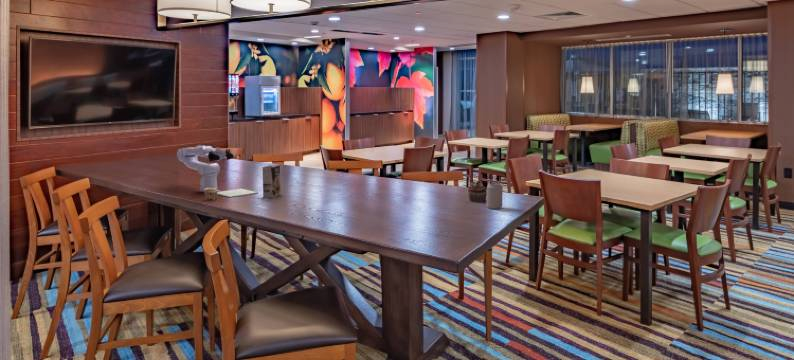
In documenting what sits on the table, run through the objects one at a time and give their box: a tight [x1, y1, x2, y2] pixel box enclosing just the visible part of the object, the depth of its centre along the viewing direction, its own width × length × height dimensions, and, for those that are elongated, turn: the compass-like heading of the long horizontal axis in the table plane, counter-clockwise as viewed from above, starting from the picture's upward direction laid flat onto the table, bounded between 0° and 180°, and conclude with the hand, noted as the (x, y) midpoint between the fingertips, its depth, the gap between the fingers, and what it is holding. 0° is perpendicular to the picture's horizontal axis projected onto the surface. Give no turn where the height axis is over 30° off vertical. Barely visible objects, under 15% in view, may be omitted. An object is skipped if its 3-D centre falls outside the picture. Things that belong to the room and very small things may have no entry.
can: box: [485, 182, 504, 210], centre depth 268 cm, size 8×8×12 cm
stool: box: [203, 187, 219, 201], centre depth 289 cm, size 5×5×6 cm
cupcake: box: [467, 180, 487, 203], centre depth 286 cm, size 10×10×10 cm
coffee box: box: [262, 164, 281, 198], centre depth 297 cm, size 9×6×16 cm
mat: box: [217, 188, 259, 199], centre depth 306 cm, size 17×17×1 cm
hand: (226, 157), depth 294 cm, fingers open, 7 cm apart
